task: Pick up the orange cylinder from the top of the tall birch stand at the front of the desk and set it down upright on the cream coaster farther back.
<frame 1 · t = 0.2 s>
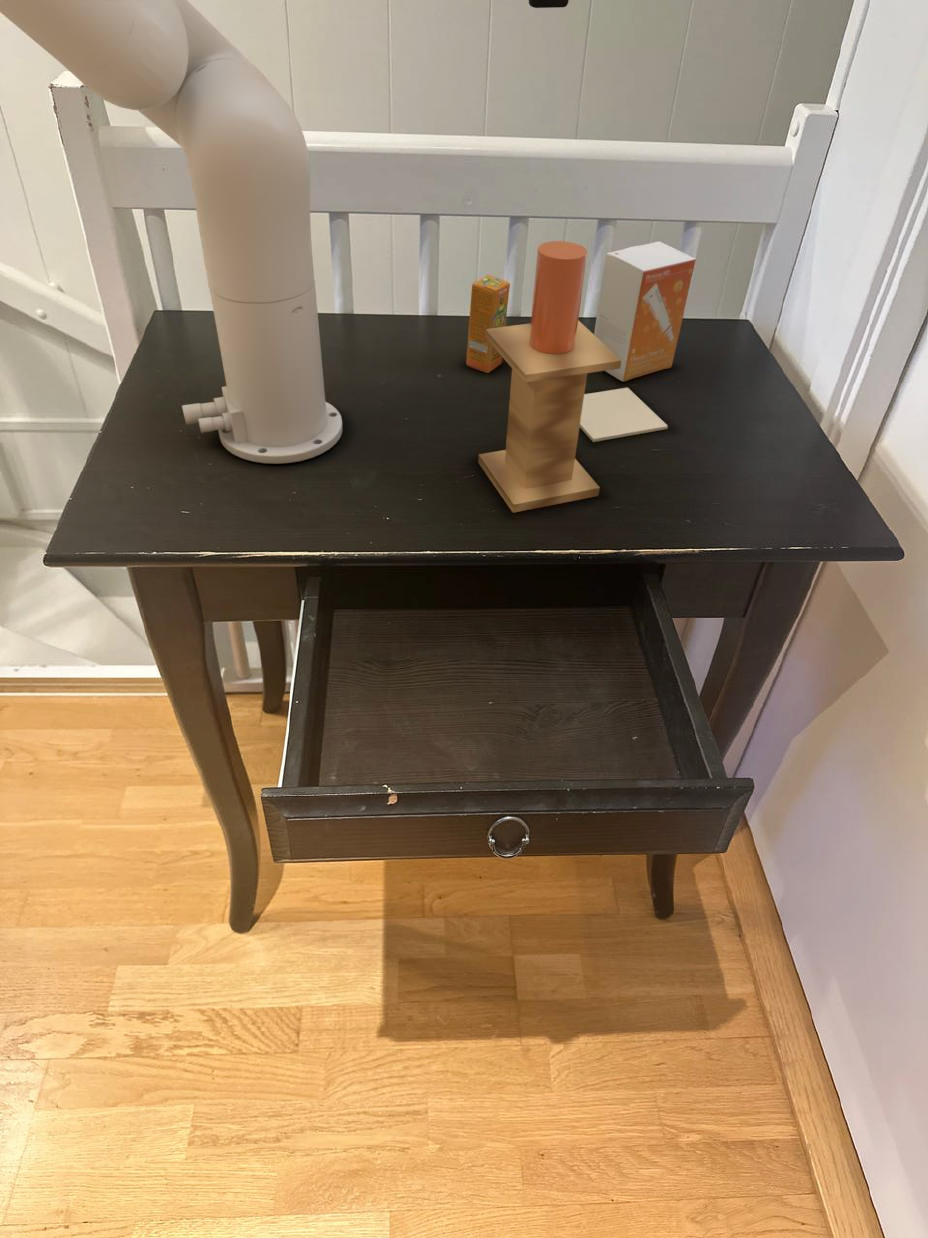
birch stand: (536, 479, 83), on the table
small box: (630, 366, 101), on the table
supplement box: (485, 366, 100), on the table
cream coaster: (610, 415, 92), on the table
orange cylinder: (551, 343, 73), point 14 cm above the table, touching birch stand
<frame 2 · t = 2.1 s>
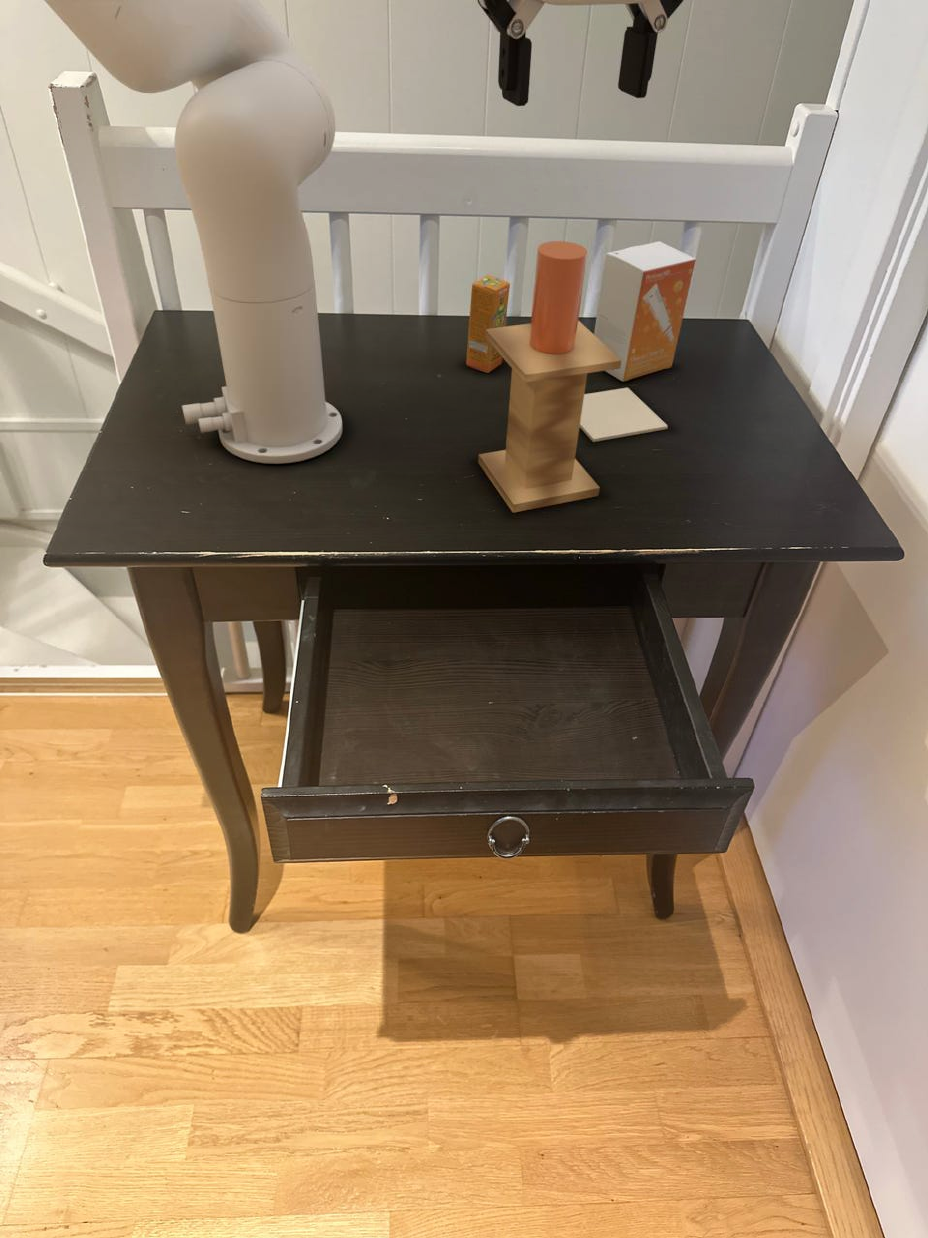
hand: (574, 97, 62), 32 cm above the table, tool pointing down, fingers open, 9 cm apart
nothing on the table moved.
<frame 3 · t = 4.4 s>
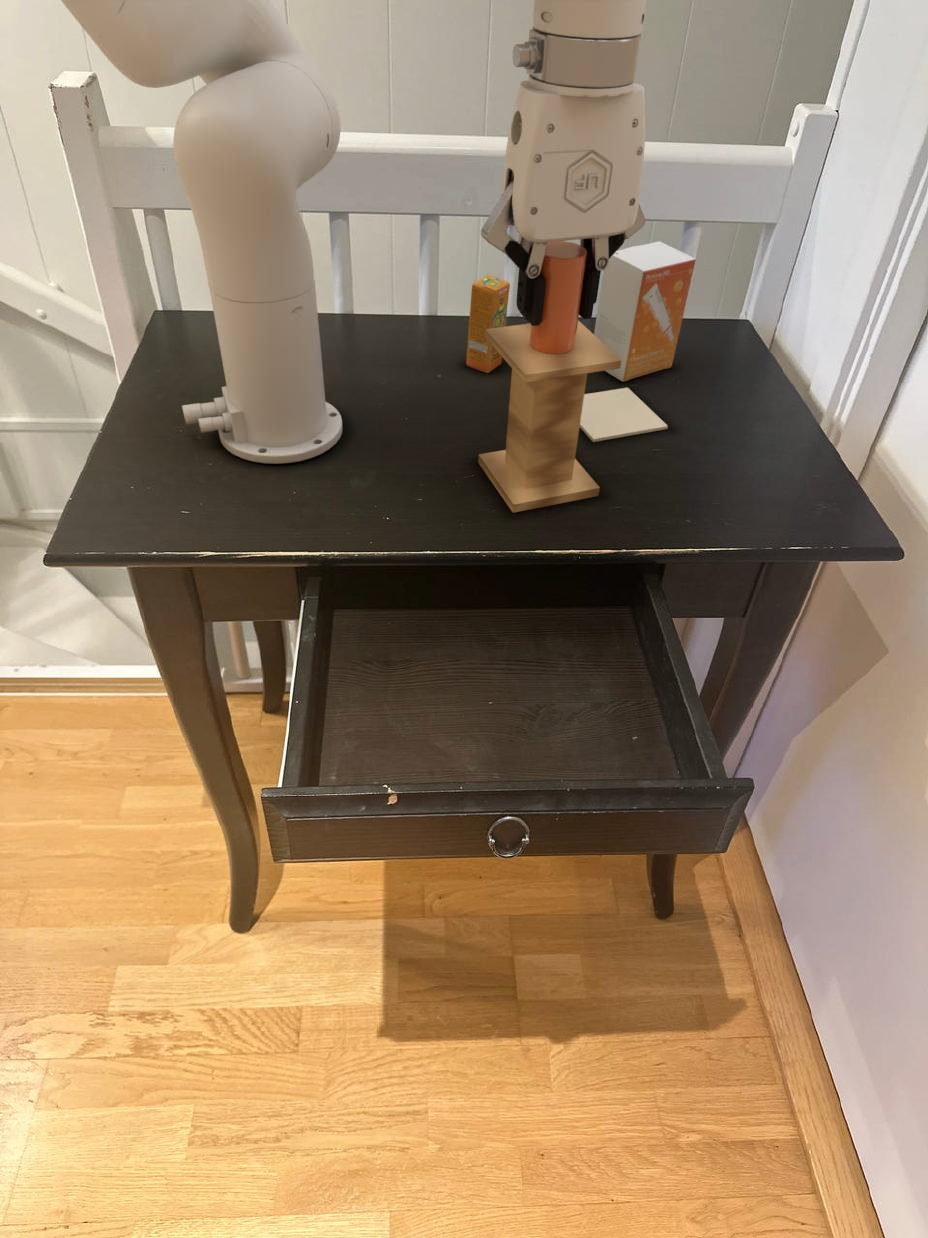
hand: (555, 313, 71), 17 cm above the table, tool pointing down, fingers closed on orange cylinder, 4 cm apart
orange cylinder: (551, 343, 73), point 14 cm above the table, touching birch stand, gripper
everything else where it was.
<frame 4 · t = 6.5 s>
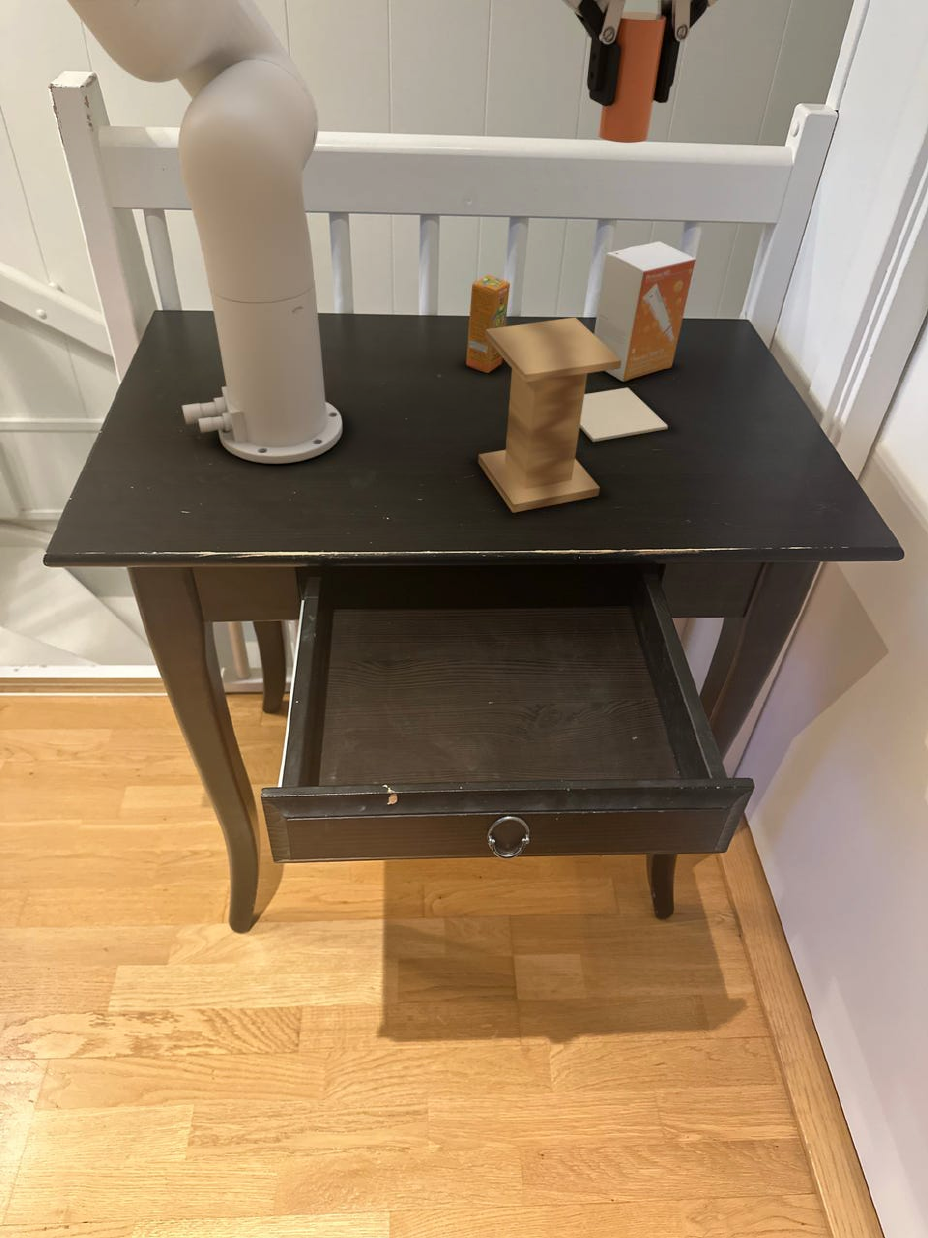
hand: (628, 97, 66), 31 cm above the table, tool pointing down, fingers closed on orange cylinder, 4 cm apart
orange cylinder: (622, 136, 68), point 29 cm above the table, touching gripper
everything else where it was.
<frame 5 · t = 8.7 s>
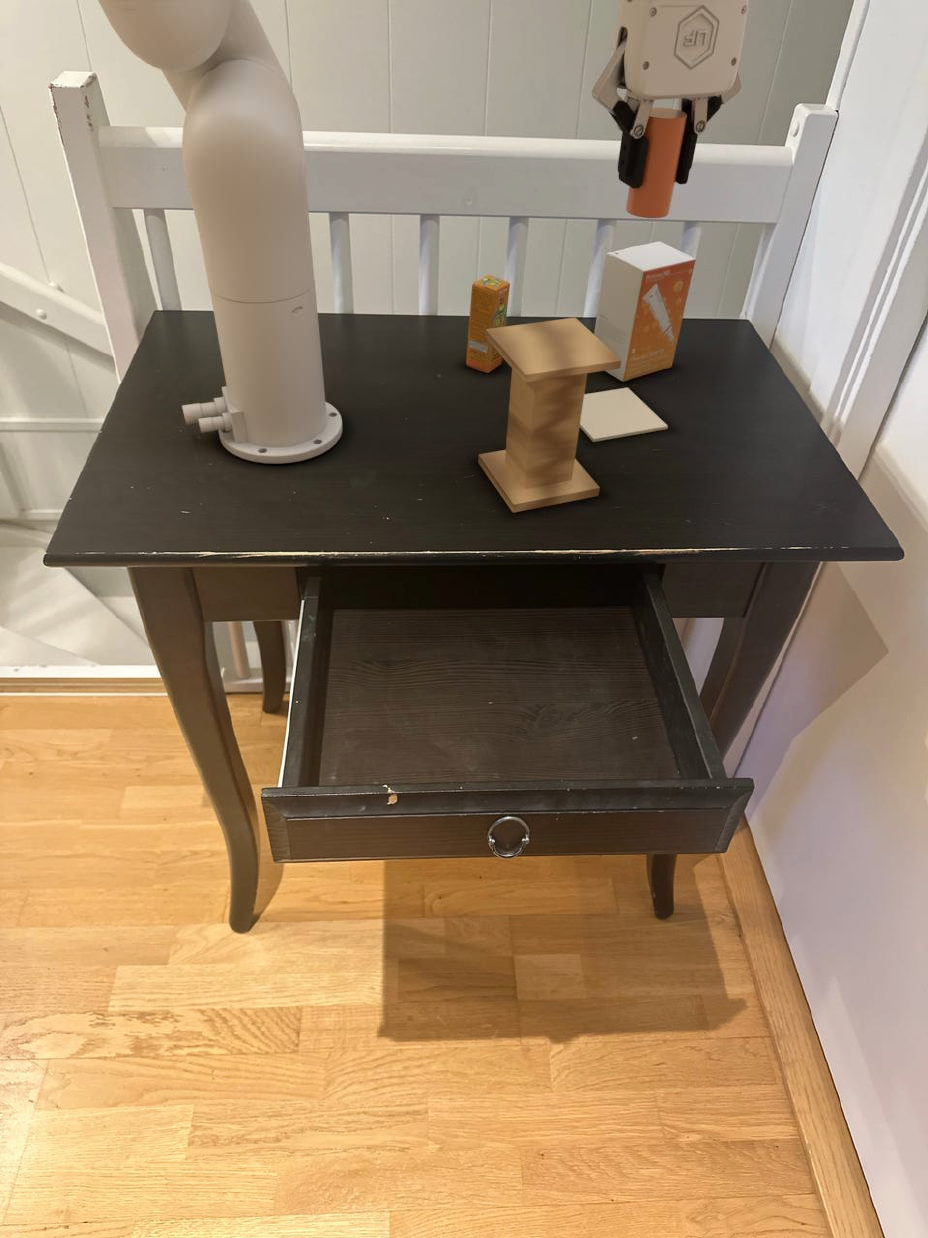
hand: (652, 179, 76), 24 cm above the table, tool pointing down, fingers closed on orange cylinder, 4 cm apart
orange cylinder: (647, 211, 78), point 21 cm above the table, touching gripper
everything else where it was.
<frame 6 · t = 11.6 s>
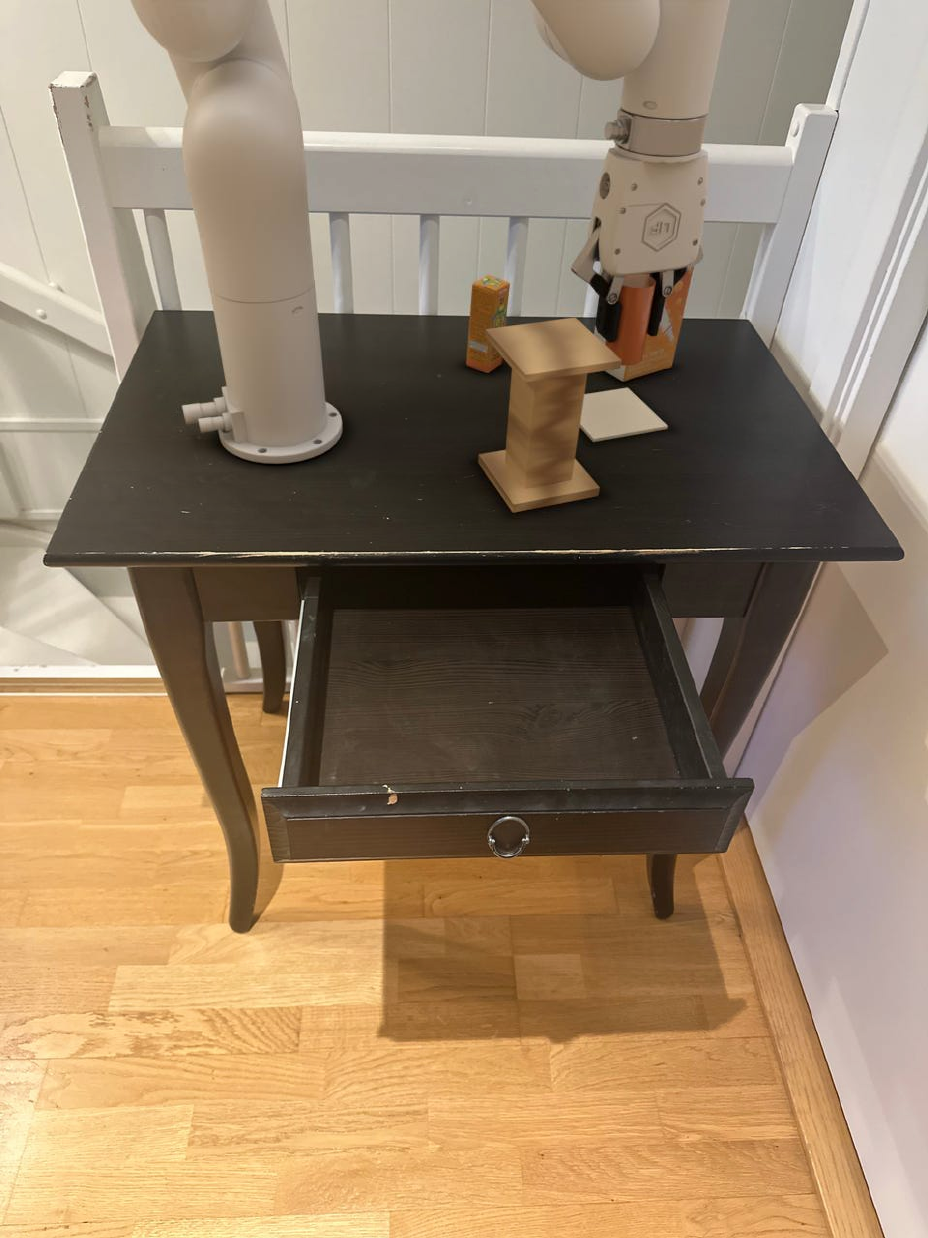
hand: (626, 331, 86), 10 cm above the table, tool pointing down, fingers closed on orange cylinder, 4 cm apart
orange cylinder: (622, 356, 88), point 7 cm above the table, touching gripper
everything else where it was.
when the fingers open (3 cm above the table, at t = 13.4 s): orange cylinder stays where it is, resting on cream coaster.
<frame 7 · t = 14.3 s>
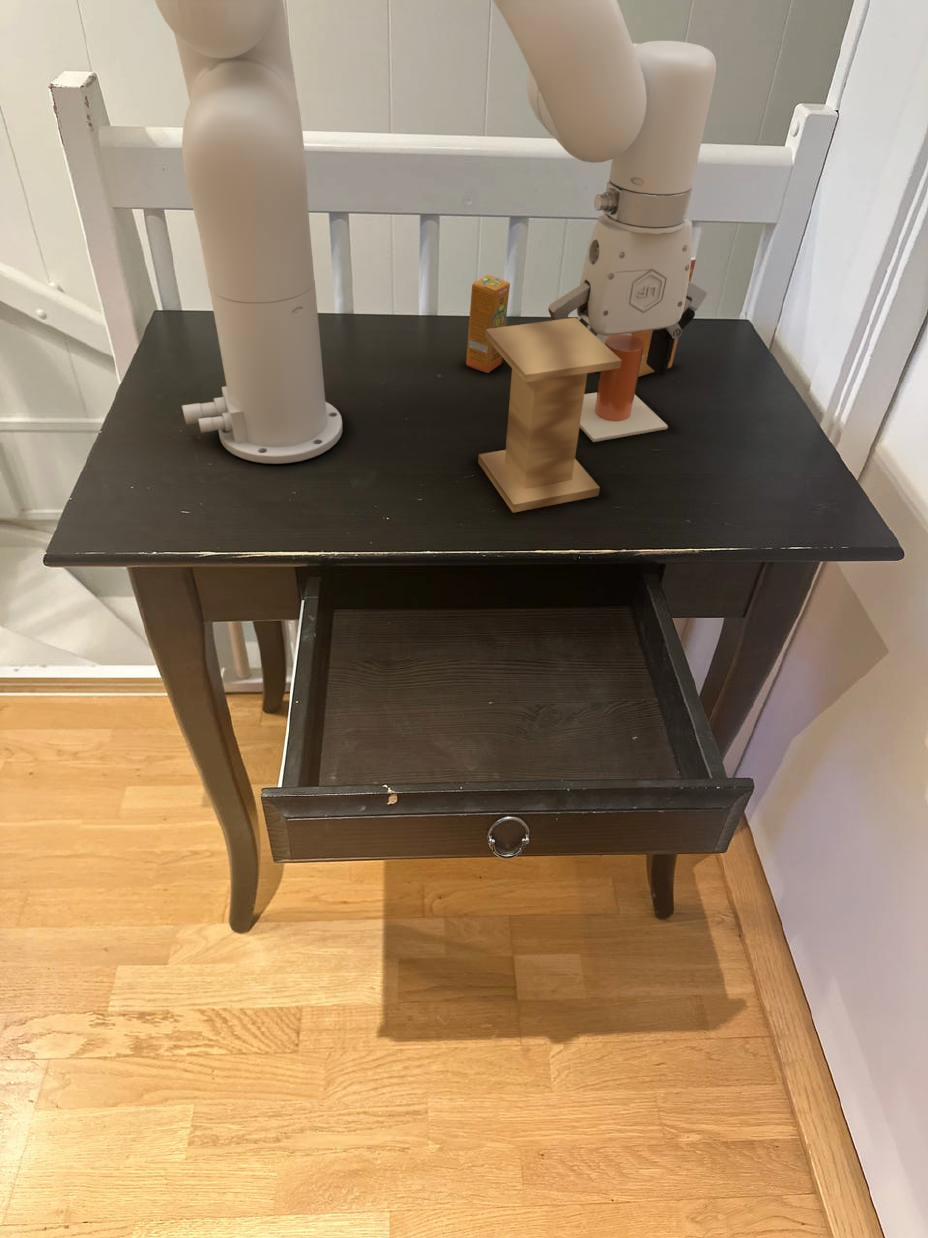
hand: (616, 375, 89), 5 cm above the table, tool pointing down, fingers open, 9 cm apart
orange cylinder: (612, 412, 92), resting on cream coaster
everything else where it was.
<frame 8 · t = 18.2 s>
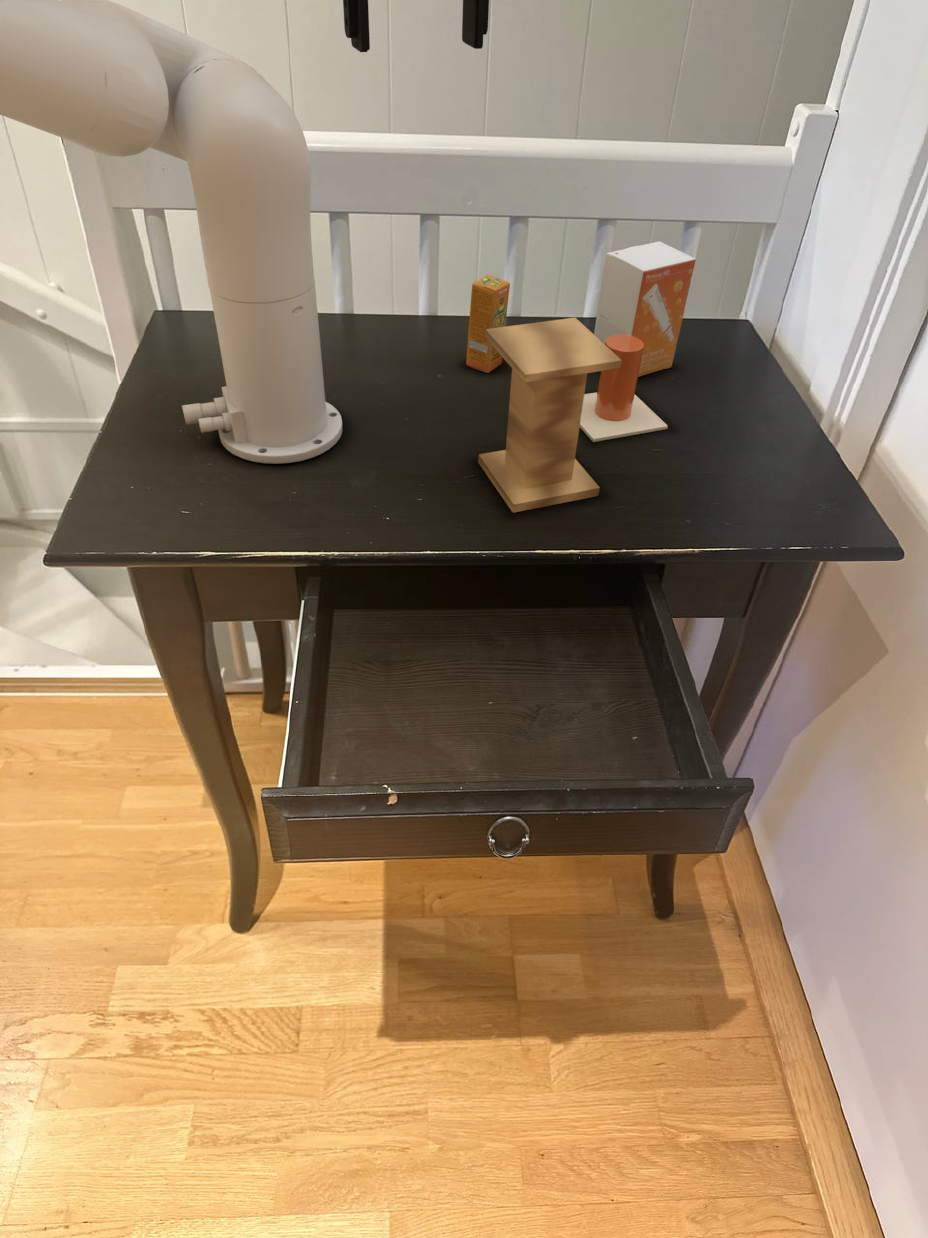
hand: (417, 47, 69), 33 cm above the table, tool pointing down, fingers open, 9 cm apart
nothing on the table moved.
at the end: orange cylinder inside the target area on the cream coaster (0.1 cm from its centre), point 0.4 cm above the cream coaster's base; orange cylinder tilted 0°; the gripper is holding nothing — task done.
